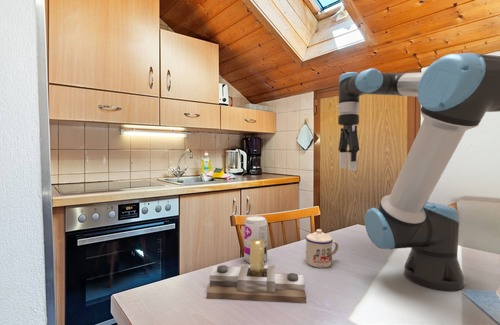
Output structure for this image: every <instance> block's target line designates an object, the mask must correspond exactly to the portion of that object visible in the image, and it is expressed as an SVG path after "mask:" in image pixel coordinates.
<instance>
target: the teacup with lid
mask: <svg viewBox="0 0 500 325" xmlns="http://www.w3.org/2000/svg"><path fill="white" fill-rule="evenodd" d="M305 240H306V241H305V244H306V245H305V248H306V250H305V251H306V252H305V258H306V259H305V260H306V264H308V265H309V266H312V267H314V268H321V269H323V268H329V267H331V266H332V264H333V263H332V262H333V261H332V260H333V259H332V258H333V255H336V254H337V253H338V251H339V247H340V246H339V243H338V242H337V241H336V240H334V239H333V237H332V236H331V235H329V234H326V233H325V232H323V230H322V229H320V228H318V229H316V231H314V232H312V233H308V234H307V235H306V236H305ZM333 244H335V247H334V249H333Z"/></svg>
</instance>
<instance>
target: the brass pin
mask: <svg viewBox="0 0 500 325" xmlns="http://www.w3.org/2000/svg"><path fill="white" fill-rule="evenodd" d="M249 265H250V277H264V265H265V262H264V240H262V239H252V240H250V263H249Z"/></svg>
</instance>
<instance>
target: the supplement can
mask: <svg viewBox="0 0 500 325" xmlns="http://www.w3.org/2000/svg"><path fill="white" fill-rule="evenodd" d="M243 223H244V224H243V225H244V226H243V228H244V229H243V240H244V241H243V250H244V251H243V253H244V254H243V259H244V260H245V261H246V263H248V264H250V240H252V239H262V240H264V263H265V262H266V261H267V260H268V221H267V219H266V217H264V216H259V215H252V216H247V217H246V218H245V220H244V222H243Z"/></svg>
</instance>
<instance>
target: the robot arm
mask: <svg viewBox="0 0 500 325" xmlns="http://www.w3.org/2000/svg"><path fill="white" fill-rule="evenodd" d="M364 95H378V96H379V95H380V96H382V95H383V96H397V97H398V96H399V97H417V101H418V102H419V105H420V106H421V107H420V110H419V112H420V113H421V116H422V117H423V120H422V122H421V125H420V127H419V129H418V131H417V133H416V137H415V138H414V140H413V143H412V145H411V148H409V151H408V154H407V156H406V158H405V160H404V163H403V165H402V167H401V170H400V171H399V174H398V176H397V179H396V181H395V183H394V186H393V188H392V189H391V192H390V194H388V195H387V194H386V195H384V196H383V197H382V198H381V199H380V202H379V205H378V207H371V208H369V209H368V210H366V212H365V215H364V226H365V231H366V234H367V236H368V238H369V240H370V242H372V244H373V245H374V246H375V247H377V248H379V249H381V250H398V249H409V248H411V249H410V252H409V254H408V257H407V259H406V261H405V264H404V266H403V274H404V276H405V277H406V278H407V279H408V280H410V281H412V282H414V283H416V284H417V285H420V286H423V287H425V288H428V289H429V288H430V289H434V290H437V291H445V292H446V291H447V292H449V291H450V292H451V291H452V292H455V291H461V290H462V289H463V288H464V287H465V278H464V273H463V272H462V269H461V265H460V262H459V259H458V251H459V250H458V249H459V228H460V227H459V226H460V220H459V217H460V216H459V211H458V210H457V208H455V207H452V206H449V205H445V204H440V203H436V202H435V203H434V202H431V201H430V202H429V201H428V200H429V199H430V197H431V195H432V194H433V192H434V189H435V188H436V186H437V184H438V183H439V180H440V178H441V177H442V175H443V174H444V171H445V170H446V168H447V166H448V164H449V163H450V161H451V159H452V157H453V156H454V153H455V152H456V149H457V147H458V146H459V144H460V142H461V140H462V139H463V137H464V135H465V133H466V132H467V131H468V130H471V129H474V128H476V127H478V126H479V125H480V123H481V121H482V120H483V117H484V116H485V114H486V113H487V112H488V113H493V112H495V113H497V112H500V55H496V54H495V55H494V54H493V55H492V54H482V53H474V52H463V53H462V52H461V53H451V54H446V55H444V56H441V57H440V58H439V59H436V60H435V61H433V62H432V63H431V64H430V65H429V66H428V67H427V68H426V69H425V71H424V72H423V71H419V72H399V73H397V72H396V73H395V72H393V73H392V72H381V71H380V70H378V69H377V68H368V69H365V70H362V71H361V72H359V73H358V72H356V71H350V72H345V73H342V74H341V75H340V76H339V78H338V105H337V106H336V107H337V108H336V109H338V118H337V119H338V121H337V122H338V125H339V126H342V128H340V136H339V143H338V152H339V169H347V168H348V171H352V172H353V171H355V172H357V171H358V170H357V169H358V151H360V145H359V137H358V135H359V134H358V126H357V125H359V123H360V116H359V114H360V97H361V96H364ZM347 164H348V165H347ZM347 166H348V167H347Z"/></svg>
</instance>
